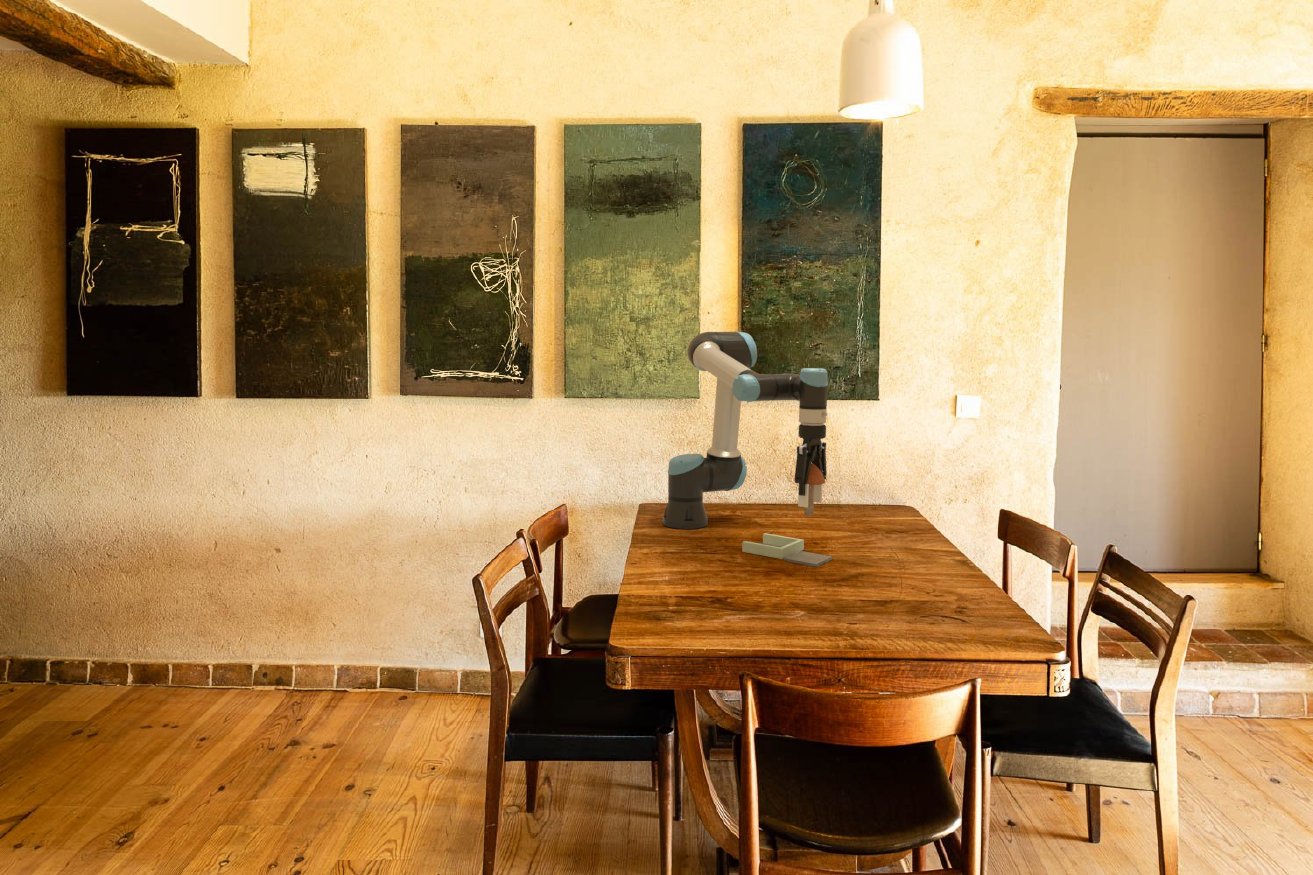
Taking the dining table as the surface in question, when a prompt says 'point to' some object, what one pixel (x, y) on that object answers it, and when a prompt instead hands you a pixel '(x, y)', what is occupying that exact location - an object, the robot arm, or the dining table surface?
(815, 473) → the mushroom
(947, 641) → the dining table surface
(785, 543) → the cream u-shaped piece
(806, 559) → the coaster
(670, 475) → the robot arm
